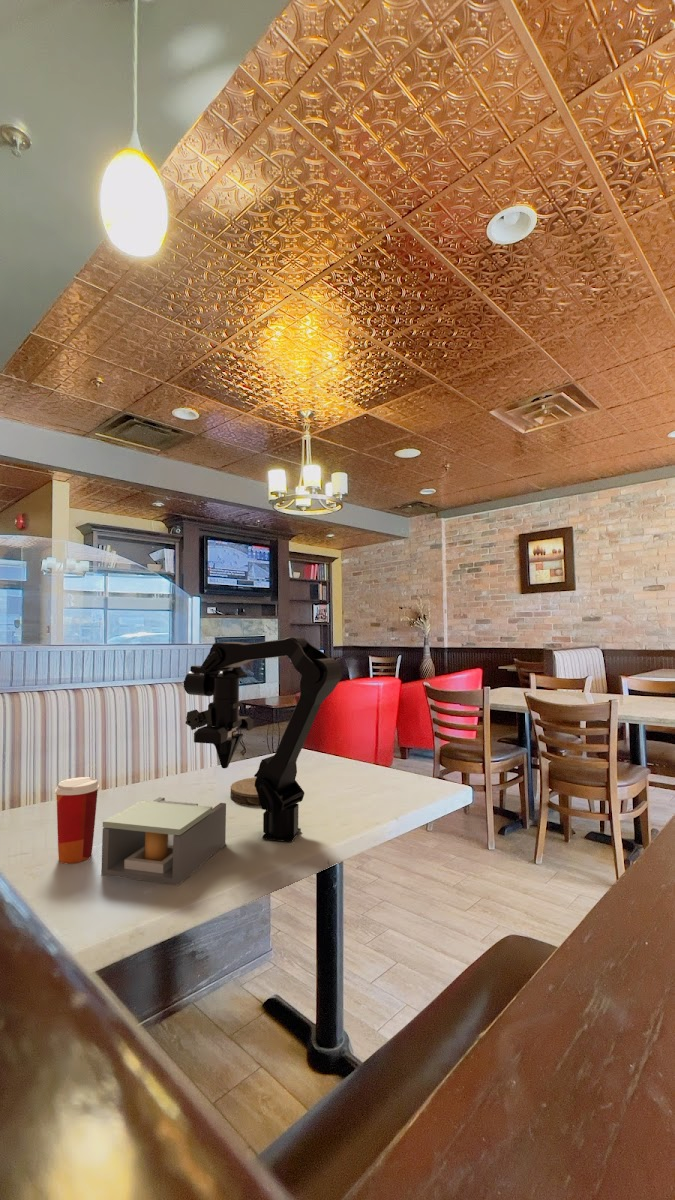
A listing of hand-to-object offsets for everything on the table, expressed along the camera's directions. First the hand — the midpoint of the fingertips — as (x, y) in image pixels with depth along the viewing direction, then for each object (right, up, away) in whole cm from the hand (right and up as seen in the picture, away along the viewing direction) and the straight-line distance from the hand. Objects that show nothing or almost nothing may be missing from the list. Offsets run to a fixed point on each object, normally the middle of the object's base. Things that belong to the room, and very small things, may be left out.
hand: (224, 767), depth 121 cm
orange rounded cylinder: (-7, -10, -23) cm, 26 cm away
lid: (-7, -5, -22) cm, 23 cm away
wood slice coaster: (+6, -14, +19) cm, 24 cm away
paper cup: (-24, -11, -19) cm, 33 cm away
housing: (-7, -11, -19) cm, 23 cm away
